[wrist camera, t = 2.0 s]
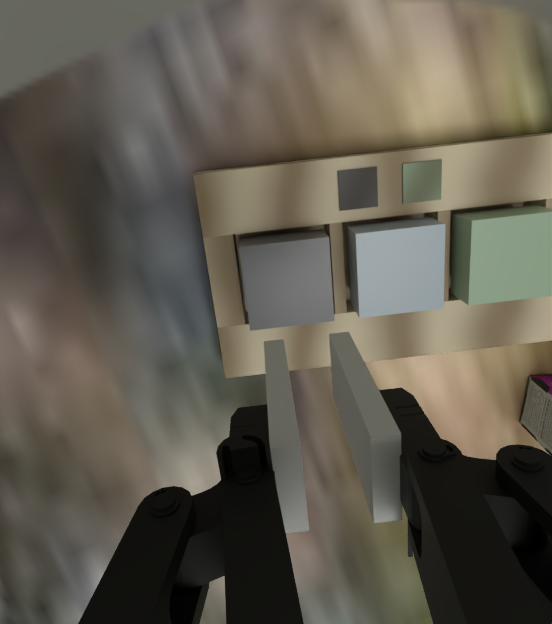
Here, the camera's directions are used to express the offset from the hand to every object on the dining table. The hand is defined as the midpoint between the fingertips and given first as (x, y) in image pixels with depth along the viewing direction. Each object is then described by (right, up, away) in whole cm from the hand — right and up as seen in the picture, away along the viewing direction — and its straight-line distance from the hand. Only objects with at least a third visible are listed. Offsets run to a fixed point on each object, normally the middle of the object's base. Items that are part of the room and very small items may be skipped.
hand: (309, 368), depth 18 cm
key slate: (+6, +6, +13) cm, 16 cm away
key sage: (+13, +6, +13) cm, 20 cm away
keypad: (+6, +6, +16) cm, 18 cm away
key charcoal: (-1, +5, +13) cm, 14 cm away
